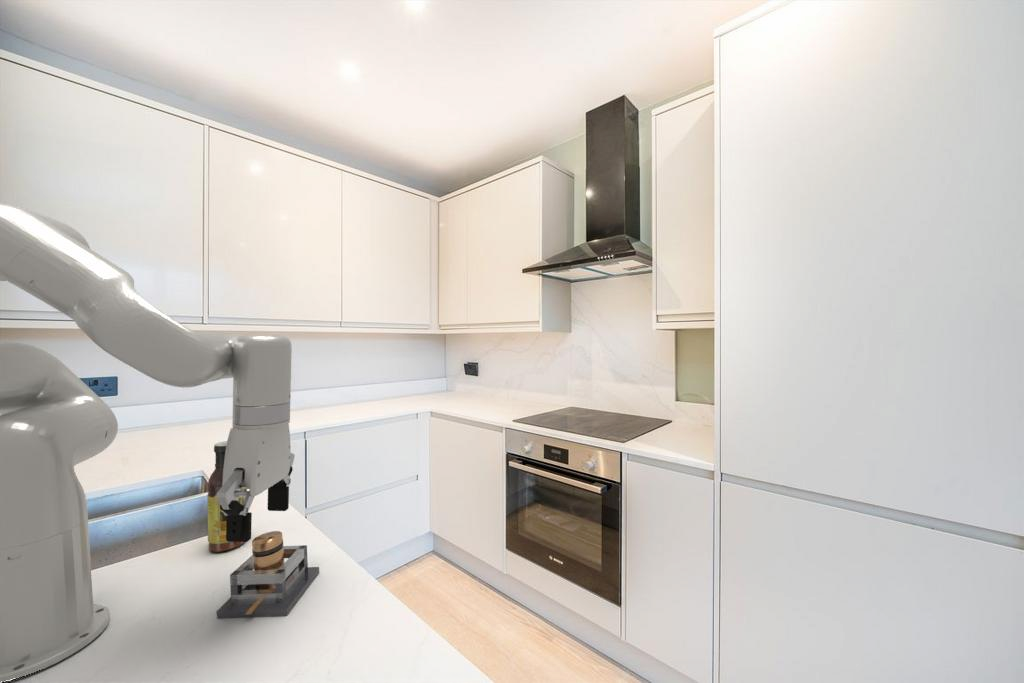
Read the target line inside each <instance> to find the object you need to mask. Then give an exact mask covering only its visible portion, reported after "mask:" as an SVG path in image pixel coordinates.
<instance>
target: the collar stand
mask: <svg viewBox="0 0 1024 683" xmlns="http://www.w3.org/2000/svg"><path fill="white" fill-rule="evenodd" d="M283 550H284V559H287V560H286V561H284V562H285V563H284V564H283V565H282V566H281V567H280V568H279V570H254V560H253V554H252V555H251V556H250V557H248V558H247V559H246V560H245V561H243V563H242V564H240V565H239V566H238V567H237V568H236V569H235V570H234V571H233V572H232V573H231V574H230V575H229V582H230V584H229V585H230V598H228V599H227V600H226V602H224V604H222V606H221V607H219V608H218V609H217V610H216V619H230V618H231V619H232V618H235V619H237V618H262V617H263V618H264V617H284V616H285V617H287V616H288V615H289V613H290V612H291V611H292V609H293V608H294V607H295V606H296V604H297V603H298V601H299V600H300V599H301V598H302V597H303V595H304V594H305V592H306V591H307V590H308V589H309V587H310V585H312V583H313V582H314V580H315V579H316V578H317V576H318V575H320V574H319V573H320V566H310V567H309V564H308V545H307V544H306V545H283ZM256 584H275V589H267V590H256Z"/></svg>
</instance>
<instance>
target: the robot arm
mask: <svg viewBox="0 0 1024 683" xmlns="http://www.w3.org/2000/svg"><path fill="white" fill-rule="evenodd" d="M0 282H8V283H10V284H11V285H13V286H15V287H17V288H19V289H21V290H23V291H24V292H25V293H28V294H29V295H31V296H33V297H34V298H36V299H37V300H40V301H42V302H43V303H45V304H47V305H48V306H50V307H52V308H53V309H55V310H57V311H59V312H60V313H62V314H64V315H65V316H67V317H68V318H70V319H72V320H73V322H75V324H76V325H77V327H78V328H79V330H81V331H82V332H83V333H84V334H85V335H86V336H87V337H88V338H89V339H90V340H91V341H92V342H93V343H94V344H95V345H96V346H98V347H99V348H100V349H101V350H103V351H104V352H106V353H107V354H109V355H111V356H112V357H114V358H115V359H117V360H119V361H121V362H122V363H124V364H126V365H128V366H129V367H131V368H133V369H134V370H136V371H138V372H140V373H141V374H143V375H145V376H147V377H149V378H151V379H152V380H155V381H157V382H159V383H162V384H164V385H168V386H170V387H175V388H183V389H184V388H185V389H186V388H195V387H198V386H202V385H204V384H207V383H212V382H215V381H219V380H220V381H221V380H223V379H233V380H232V381H233V382H232V383H233V384H232V389H233V390H232V419H231V420H232V427H231V428H230V430H229V432H228V437H227V445H226V451H225V459H224V469H223V484H222V487H221V488H220V490H219V491H218V492H217V494H216V497H217V499H218V501H219V504H220V509H221V510H222V511H224V512H223V514H224V515H227V517H226V540H227V541H228V542H243V543H247V542H248V541H251V539H252V522H253V520H252V516H253V515H252V514H253V513H252V512H249V511H250V508H251V507H252V504H253V501H254V499H255V497H257V496H259V495H260V494H263V492H265V491H266V490H267V511H269V512H286V511H288V510H289V507H290V505H289V504H290V503H289V502H290V500H289V499H290V485H291V482H292V480H291V474H292V472H293V470H294V468H293V464H294V462H295V461H294V460H295V455H296V454H294V453H293V452H291V451H292V450H291V432H290V424H289V423H291V396H292V394H291V391H292V390H291V388H292V386H291V384H292V383H291V382H292V381H291V380H292V352H293V351H292V342H291V340H290V338H288V337H286V336H284V335H279V334H278V335H275V334H243V335H240V334H239V335H237V334H231V333H230V334H229V333H223V332H216V331H195V330H192V329H190V328H188V326H185V325H183V324H182V323H180V322H179V321H177V320H175V319H174V318H172V317H170V316H168V315H167V314H165V313H164V312H162V311H161V310H160V309H158V308H156V307H155V306H153V305H152V304H151V303H149V302H148V301H147V300H145V299H144V298H143V296H141V295H140V294H139V293H138V292H137V290H136V287H135V278H134V277H133V276H132V275H131V274H130V273H129V272H127V270H124V269H123V268H122V267H119V266H118V265H117V264H115V263H113V262H112V261H111V260H109V259H107V258H105V257H104V256H102V255H101V254H99V253H97V252H95V250H92V249H91V247H90V244H89V242H88V241H87V239H86V238H85V237H84V236H83V235H82V234H81V233H80V232H79V231H78V230H76V229H75V228H73V227H72V226H70V225H69V224H66V223H65V222H62V221H59V220H57V219H54V218H52V217H50V216H49V217H48V216H45V215H43V214H41V213H38V212H35V211H32V210H29V209H27V208H23V207H21V206H18V205H13V204H9V203H5V202H0ZM118 429H119V425H118V419H117V417H116V414H115V413H114V411H113V410H112V409H111V408H110V406H109V405H108V404H107V403H106V402H105V401H104V400H103V399H102V398H101V397H100V396H99V395H97V393H96V392H94V390H92V389H91V387H89V386H88V385H87V384H86V383H85V382H84V381H83V380H81V379H80V377H78V376H77V375H76V374H75V373H74V372H73V371H72V370H71V369H70V368H69V367H68V366H67V365H66V364H65V363H63V362H62V360H60V359H58V358H57V357H56V356H54V355H53V354H52V353H49V352H48V351H45V350H44V349H42V348H39V347H36V346H35V345H31V344H27V343H22V342H21V343H20V342H8V341H7V342H5V341H4V342H3V341H2V342H1V341H0V682H1V681H2V682H4V681H6V680H10V679H13V678H18V677H22V676H25V675H28V674H30V675H32V674H31V673H33V674H34V672H35V673H37V672H36V671H38V672H40V671H42V669H43V670H45V669H47V668H49V667H51V666H53V665H55V664H58V663H60V662H61V661H64V660H65V659H66V658H69V657H70V656H72V655H73V654H75V653H78V652H79V651H80V650H81V649H83V648H84V647H86V646H87V645H88V644H90V643H92V642H93V641H94V640H95V639H96V638H97V637H99V635H101V634H102V632H104V630H105V629H106V628H107V626H108V624H109V623H110V619H111V615H110V614H111V613H110V609H109V607H107V606H105V605H103V604H97V603H95V604H94V599H93V598H94V597H93V582H92V581H93V580H92V563H91V562H92V561H91V551H90V550H91V548H90V546H91V545H90V533H89V530H90V529H89V515H88V505H87V504H88V502H87V497H86V494H85V490H84V488H83V486H82V483H81V481H79V478H78V476H77V475H76V472H75V468H74V467H75V466H77V465H79V464H81V463H83V462H85V461H87V460H89V459H91V458H93V457H95V456H97V455H99V454H100V453H102V452H104V451H105V450H106V449H107V448H109V447H110V446H111V444H112V443H113V442H114V440H115V439H116V437H117V435H118V431H119V430H118ZM241 489H247V491H241ZM238 497H242V498H245V500H244V502H243V504H242V505H241V504H240V503H239V502H238V501H237V500H238ZM39 670H40V671H39ZM28 676H29V675H28ZM25 677H26V676H25ZM22 678H23V677H22Z"/></svg>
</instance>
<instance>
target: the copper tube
mask: <svg viewBox="0 0 1024 683" xmlns="http://www.w3.org/2000/svg"><path fill="white" fill-rule="evenodd" d="M283 546H284V539H283V532H281V531H280V530H275V531H274V530H273V531H270V532H269V531H268V532H264V533H262V534H259V535H258V536H256V537H255V538H253V539H252V541H251V547H252V548H251V552H252V555H253V560H254V569H253V570H279V568H280V567H281V566H282V565H283V564H284V563H285V562H286V561H285V558H284V550H283ZM267 589H275V584H256V590H267Z"/></svg>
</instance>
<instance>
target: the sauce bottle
mask: <svg viewBox="0 0 1024 683" xmlns="http://www.w3.org/2000/svg"><path fill="white" fill-rule="evenodd" d="M226 445H227V441H221V442H218V443H215V444H214V446H213V452H214V453H215V463H214V470H213V472H212V473H211V474H210V477H209V479H208V481H207V492H208V493H207V497H206V499H207V542H208V550H209V551H210V552H213V553H221V552H225V551H226V552H227V551H231V550H233V549H236V548H237V547H239V546H241V545H242V544H244V542H228V541H227V540H226V517H227V515H224V514H223V512H224V511H222V510H221V509H220V504H219V501H218V499H217V497H216V494H217V492H218V491H219V490H220V488H221V487H222V484H223V469H224V459H225V451H226ZM241 491H248V489H241ZM244 500H245V498H242V497H238V500H237V501H238V502H239V503H240V504H241V505H242V504H243V502H244Z"/></svg>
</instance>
